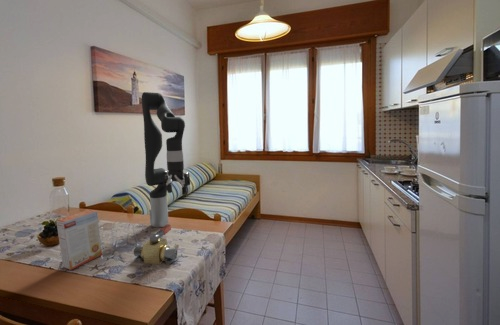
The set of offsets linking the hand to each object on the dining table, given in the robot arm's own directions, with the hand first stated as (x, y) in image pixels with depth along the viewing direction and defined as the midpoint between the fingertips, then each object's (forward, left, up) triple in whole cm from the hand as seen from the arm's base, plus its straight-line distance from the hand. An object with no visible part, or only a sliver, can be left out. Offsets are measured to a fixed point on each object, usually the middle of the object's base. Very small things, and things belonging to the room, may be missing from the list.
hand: (177, 193), depth 126 cm
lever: (-3, -11, -17) cm, 20 cm away
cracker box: (-34, -23, -25) cm, 48 cm away
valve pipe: (-3, -17, -25) cm, 30 cm away
